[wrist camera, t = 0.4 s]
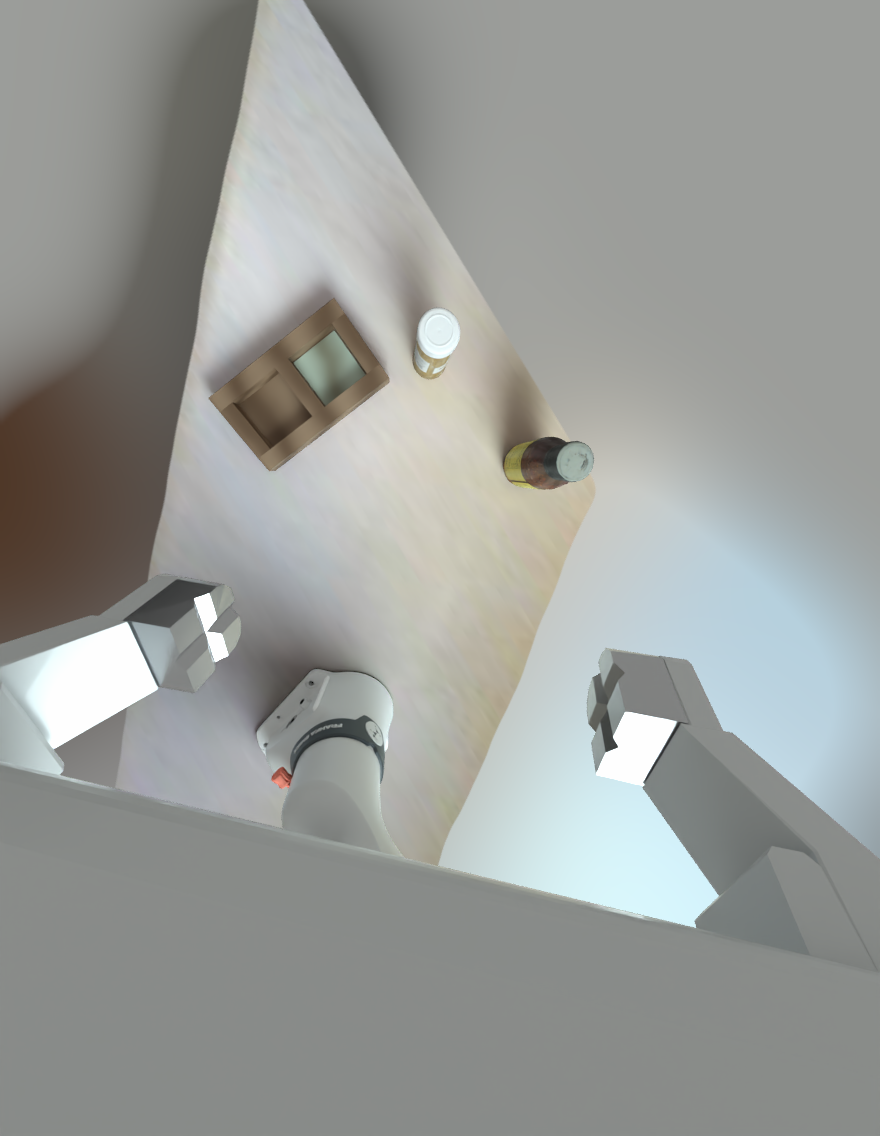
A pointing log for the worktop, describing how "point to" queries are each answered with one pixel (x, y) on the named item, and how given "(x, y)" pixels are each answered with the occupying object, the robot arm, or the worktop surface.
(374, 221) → the worktop surface
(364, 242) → the worktop surface
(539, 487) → the sauce bottle
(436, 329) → the sprinkles bottle
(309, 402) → the spice caddy
